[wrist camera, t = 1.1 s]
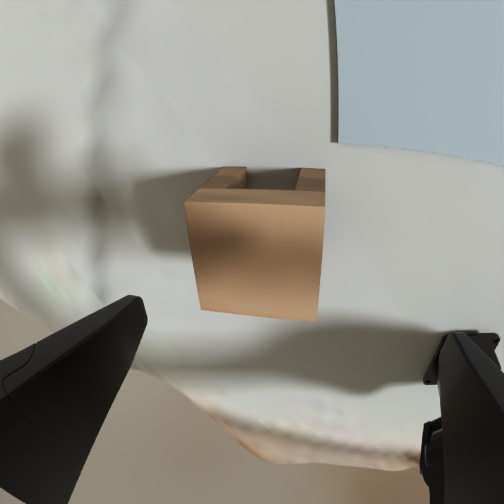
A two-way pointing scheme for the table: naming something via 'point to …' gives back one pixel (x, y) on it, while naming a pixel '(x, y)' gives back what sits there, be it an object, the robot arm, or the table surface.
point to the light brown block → (258, 245)
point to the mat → (422, 76)
